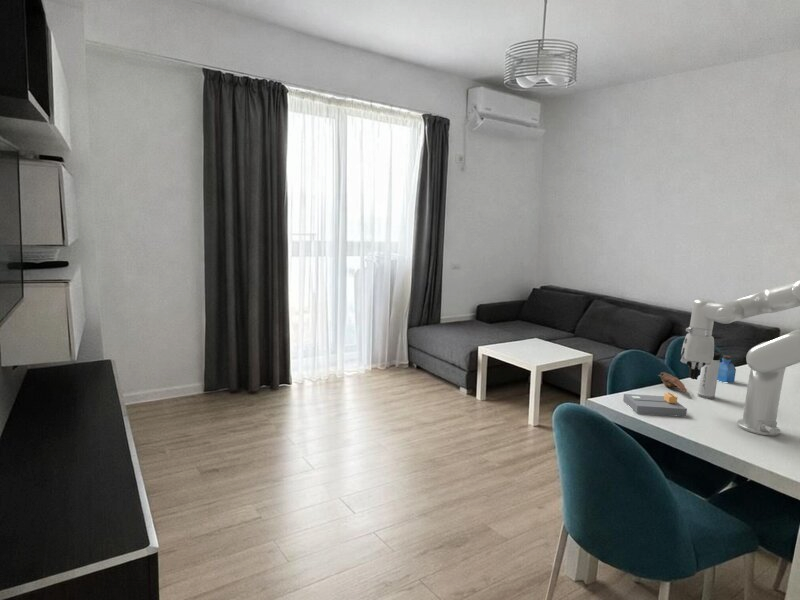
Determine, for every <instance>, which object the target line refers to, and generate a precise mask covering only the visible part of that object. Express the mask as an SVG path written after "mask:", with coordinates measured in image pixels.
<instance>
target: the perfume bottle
mask: <svg viewBox="0 0 800 600" xmlns="http://www.w3.org/2000/svg"><path fill="white" fill-rule="evenodd" d="M731 358H732V357H731V356H730V355H726V354H723V355H722V358H721V361H720V363H719V370H718V377H717V380H719V381H718V382H720V381H723V382H731V383H735V379H736V374H737V373H736V371H737V369H736V367H735V365H734V363H730V362H731V361H732V359H731ZM723 382H722V383H723Z"/></svg>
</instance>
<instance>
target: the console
mask: <svg viewBox="0 0 800 600" xmlns="http://www.w3.org/2000/svg"><path fill="white" fill-rule="evenodd" d="M622 402H624V403H625V404H626V405H627V406H628V405H629V406H630V407H631V408H632V409H633V412H635V413H636V414H638V415H639V414H642V415H654V416H668V415H677V416H676V417H684V416H686V417H687V414H688V413H687V412H688V408H686V407H685V406H684V405H682V404H680V402H678V401H677V403H668V402H667V401H665V400H664V396H663V395H648V394H632V393H623V399H622ZM629 406H628V407H629ZM630 407H629V408H630ZM631 408H630V409H631ZM632 409H631V410H632Z"/></svg>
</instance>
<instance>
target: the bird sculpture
mask: <svg viewBox="0 0 800 600" xmlns="http://www.w3.org/2000/svg"><path fill="white" fill-rule="evenodd" d="M657 376H658V377H660V380H661V381H662V383H663V385H664V386H665V387H668V388H672V387H673V388H678V389H680V390H681V391H682V392H684V393H686V392H687V391H688V390H687V388H686V387H685V384H684V383H683V382H682V381H681V379H679V378H678V377H676V376H674V375H672V374H669V373H668V372H666V371H662V372H660V374H658V375H657Z"/></svg>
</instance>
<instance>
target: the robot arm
mask: <svg viewBox="0 0 800 600" xmlns="http://www.w3.org/2000/svg"><path fill="white" fill-rule="evenodd" d="M798 307H800V279H796V280H793V281H791V282H787V283H783V284H780V285H776V286H773V287H769V288H766V289H762V290H761V291H760V292H757V293H754V294H751V295H748V296H744V297H740V298H738V299H733V300H730V301H726V302H716V301H714V300H710V299H705V298H698V299H695V300H694V301H693V303H692V309H691V310H692V311H691V316H690V322H689V326H688V327H686V328H685V332H687V333H686V335H685V336H684V337H685V338H684V340H683V343H682V347H681V353H680V356H681V359H680V360H679V361H680V362H681V363H682V364H684V365H685V364H686V365H687V366H688V378H690V379H691V380H698V378H699V377H700V371H701V368H702V367H703V366H705V365H710V364H711V362H712V361H713V357H714V351H715V338H714V336H712V335H713V328H714V324H715V323H714V322H716V323H720V324H731V323H733V322H736V321H740V320H745V319H747V318H751V317H756V316H759V315H763V314H774V313H779V312H783V311H786V310H791V309H795V308H798ZM745 356H746V357H745V358H746V364H747V365H748V367H749V368H750V371H749V376H748V377H749V378H748V383H747V389H746V395H745V402H744V407H743V408H744V409H743V415H742V419H738V420H736V425H737V426H738V427H739V428H740V429H742V430H744V431H747V432H751V433H753V434H758V435H762V436H763V435H764V436H778V435H780V434H781V429H780V428H779V427H777V425H778V422H777V417H778V412H779V405H780V398H781V393H782V387H783V381H784V376H785V371H786V368H788V367H791V366H794V365H796V364H799V363H800V328H799V329H794V330H792V331H790V332H788V333H786V334H783V335H780V336H779V337H776V338H774V339H771V340H768V341H763V342H760V343H759V344H757V345H755V346H753V347H751V348H750V349H749V350H748V352H747V353H746V355H745Z"/></svg>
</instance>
